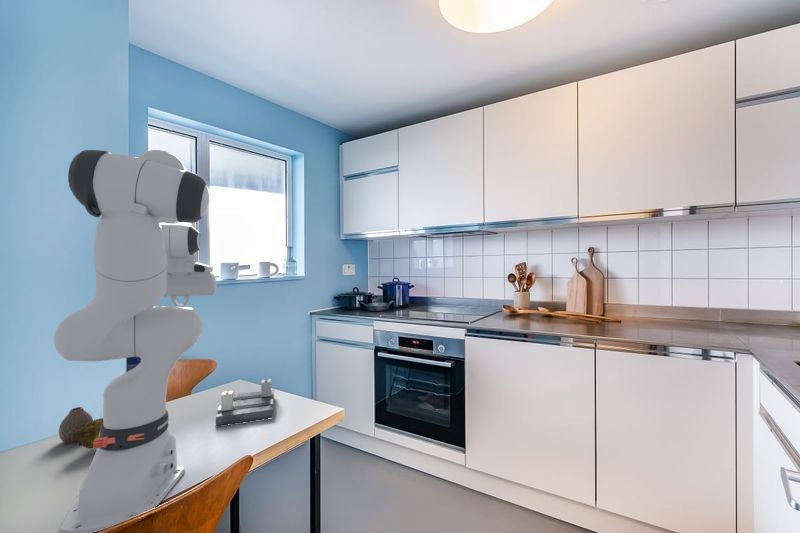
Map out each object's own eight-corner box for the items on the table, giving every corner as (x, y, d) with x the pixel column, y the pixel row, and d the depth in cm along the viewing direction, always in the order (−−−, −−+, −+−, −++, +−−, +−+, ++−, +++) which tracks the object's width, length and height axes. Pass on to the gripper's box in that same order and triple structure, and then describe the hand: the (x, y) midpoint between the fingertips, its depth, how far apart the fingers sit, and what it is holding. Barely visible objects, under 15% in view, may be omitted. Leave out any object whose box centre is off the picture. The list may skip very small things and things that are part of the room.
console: (272, 419, 106) (272, 407, 106) (215, 426, 101) (215, 414, 101) (274, 398, 123) (274, 387, 123) (225, 403, 118) (225, 393, 118)
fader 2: (270, 396, 117) (270, 380, 117) (261, 397, 116) (261, 381, 116) (270, 393, 120) (270, 378, 120) (261, 394, 119) (261, 379, 119)
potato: (143, 441, 93) (143, 412, 93) (78, 462, 83) (78, 429, 83) (134, 432, 98) (134, 404, 98) (73, 450, 88) (73, 420, 88)
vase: (71, 448, 89) (71, 415, 89) (51, 445, 91) (51, 412, 91) (99, 435, 96) (99, 404, 96) (80, 432, 97) (80, 402, 97)
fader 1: (231, 409, 106) (231, 392, 106) (221, 411, 105) (221, 394, 105) (233, 406, 109) (233, 389, 109) (222, 407, 108) (222, 390, 108)
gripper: (138, 267, 102) (138, 312, 102) (214, 267, 109) (214, 310, 109) (146, 267, 108) (146, 310, 108) (217, 267, 115) (217, 307, 115)
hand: (181, 310), depth 109 cm, fingers closed
